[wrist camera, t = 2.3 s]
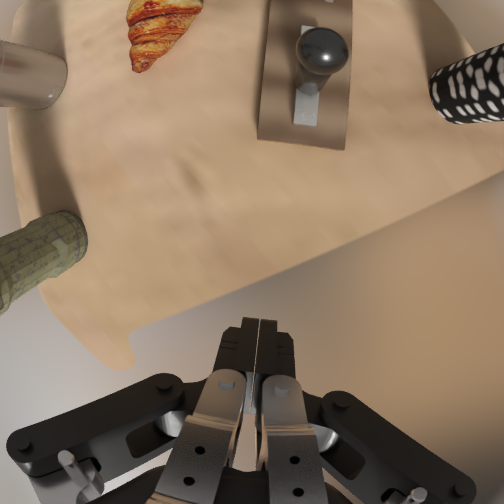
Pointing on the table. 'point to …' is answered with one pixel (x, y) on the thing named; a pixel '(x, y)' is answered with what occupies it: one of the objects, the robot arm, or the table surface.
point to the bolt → (315, 69)
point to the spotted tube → (471, 88)
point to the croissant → (157, 28)
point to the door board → (284, 67)
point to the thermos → (39, 253)
